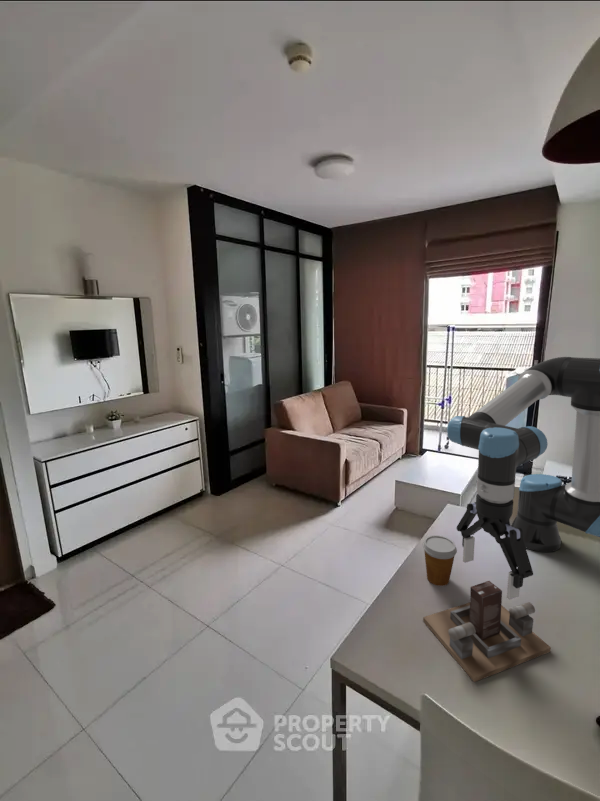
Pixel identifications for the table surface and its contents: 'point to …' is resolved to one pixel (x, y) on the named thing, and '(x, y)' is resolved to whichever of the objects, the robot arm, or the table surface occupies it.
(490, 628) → the box
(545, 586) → the table surface
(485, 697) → the table surface
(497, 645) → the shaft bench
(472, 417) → the robot arm
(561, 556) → the table surface
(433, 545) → the disposable coffee cup
